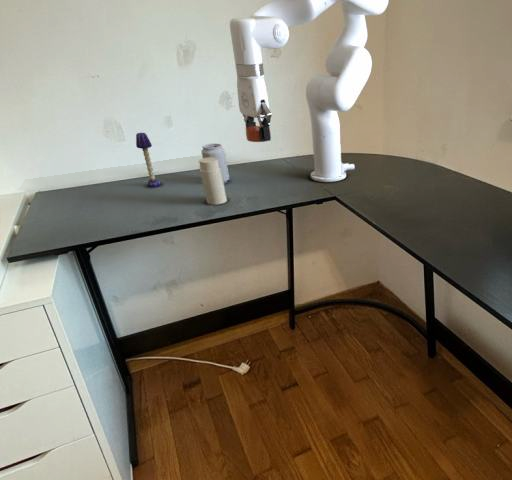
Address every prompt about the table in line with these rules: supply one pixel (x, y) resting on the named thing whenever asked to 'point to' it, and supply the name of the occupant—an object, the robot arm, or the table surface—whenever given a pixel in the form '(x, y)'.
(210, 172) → the jar
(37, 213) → the table surface
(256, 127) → the jar lid
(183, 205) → the table surface
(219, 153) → the can
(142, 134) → the toy lamp
